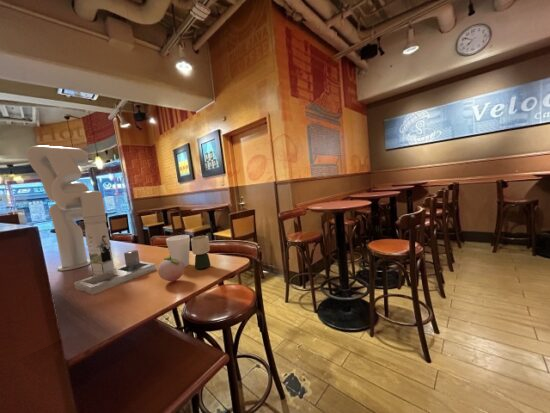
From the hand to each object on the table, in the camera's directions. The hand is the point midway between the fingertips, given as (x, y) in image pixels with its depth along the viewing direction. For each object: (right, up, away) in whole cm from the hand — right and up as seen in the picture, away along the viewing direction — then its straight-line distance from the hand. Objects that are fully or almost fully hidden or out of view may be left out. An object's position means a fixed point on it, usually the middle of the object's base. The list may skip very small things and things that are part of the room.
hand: (101, 259), depth 98 cm
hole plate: (+12, -6, -7) cm, 15 cm away
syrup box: (0, -6, +1) cm, 6 cm away
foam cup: (+34, -3, +2) cm, 34 cm away
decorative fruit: (+38, -5, -15) cm, 41 cm away
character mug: (+45, -3, -2) cm, 45 cm away
